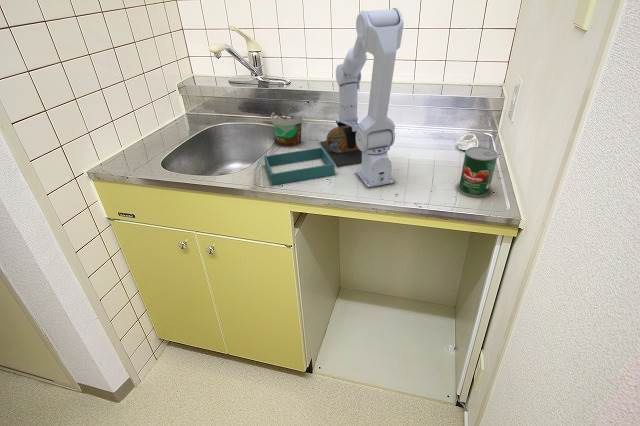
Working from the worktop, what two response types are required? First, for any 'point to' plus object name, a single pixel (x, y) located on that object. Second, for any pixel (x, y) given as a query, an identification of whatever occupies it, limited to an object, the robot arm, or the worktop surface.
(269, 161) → the crate
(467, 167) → the canned tomato
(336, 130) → the tin
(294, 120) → the food container
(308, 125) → the worktop surface
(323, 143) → the mat
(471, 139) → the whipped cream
